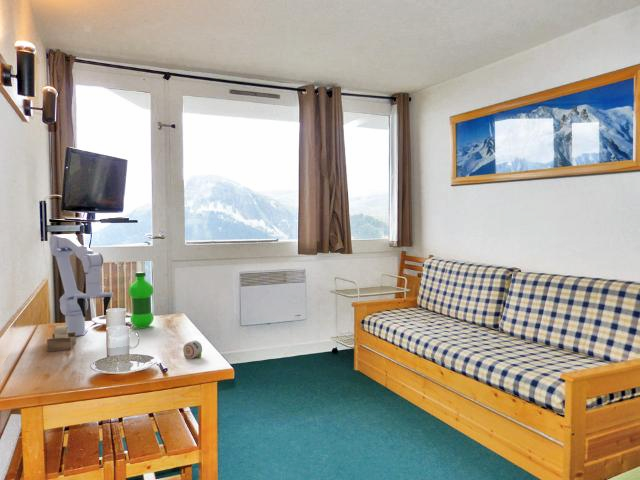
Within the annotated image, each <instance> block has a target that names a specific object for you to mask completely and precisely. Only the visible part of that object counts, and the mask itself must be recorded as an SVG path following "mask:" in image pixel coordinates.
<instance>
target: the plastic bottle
mask: <svg viewBox="0 0 640 480" xmlns="http://www.w3.org/2000/svg"><path fill="white" fill-rule="evenodd" d="M134 273H135V277H136V280H135V281H134V282H133V283H132V284H131V285H130V286H129V287H128V294H129V297H131V308H132V314H131V316H130V323H131V325H133V326H134V327H136V328H137V329H145V328H148V327H149V326H150V325H152V323H153V321H154V315H153V312H152V305H151V304H152V302H151V301H152V300H151V297H152V296H153V295H154V287H153V285H152V284H151V283H150V282H148V281H147V279H145V277H146V271H138V272H137V271H135V272H134Z"/></svg>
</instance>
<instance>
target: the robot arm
mask: <svg viewBox="0 0 640 480" xmlns="http://www.w3.org/2000/svg"><path fill="white" fill-rule="evenodd" d="M49 249H50V251H51V256H54V257H55V260H56V262H57V267H58V271H59V275H60V278H61V283H62V287H63V290H64V293H63V294H62V295H61V296H60V298H59V309H60V312H61V313H62V315H64V317H65V326H67V325H68V333H70V332H75V336H76V337H77V336H78V337H79V336H85V334H86V333H87V332H88V329H86V324H85V323H86V322H85V321H86V320H85V317H87V310H88V309H89V301H88V299H89V300H90V299H92V300H93V299H102V301H103V302H102V303H103V316H105V317H106V316H107V312H106V310H107V311H108V307H109V305H110V302H111V299H113V298H114V297H115V296H114V291H112V292H109V291H108V292H102V271H101V269H102V268H101V267H102V266H103V265H104V258H103V255H102V254H101V252H94V251H93V250H92V249H91V248H90V247H89V246H88V245H86V244H84V245H83V244H81V243H80V241H79V238H78V235H77V234H75V233H69V234H67V233H66V234H54V233H53V234H52V235H50V238H49ZM74 254H75V256H76V257H77V258H78V259H79V260H80V261H81V264H82V267H83V273H85V274H84V275H85V293H84V292H82V291H80V290H79V289H78V286H77V282H76V279H75V274H74V271H73V268H72V263H71V259H70V256H72V255H74Z"/></svg>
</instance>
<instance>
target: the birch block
mask: <svg viewBox="0 0 640 480" xmlns="http://www.w3.org/2000/svg"><path fill="white" fill-rule="evenodd" d="M53 329H54V330H53V331H54V333H53V334H55V338H67V337H68V325H67V326H66V325H57V326H55V327H54V328H53Z"/></svg>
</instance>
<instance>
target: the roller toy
mask: <svg viewBox="0 0 640 480" xmlns="http://www.w3.org/2000/svg"><path fill="white" fill-rule="evenodd" d="M182 351H183V357H184V358H186V359H188V360H189V359H191V360H192V359H195V358H196V359H197V358H198V359H199V358H201V357H202V352H203V346H202V344H201V342H199V341H198V340H192V341H189V342H186V343H185V344H184V345H183V348H182Z"/></svg>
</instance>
